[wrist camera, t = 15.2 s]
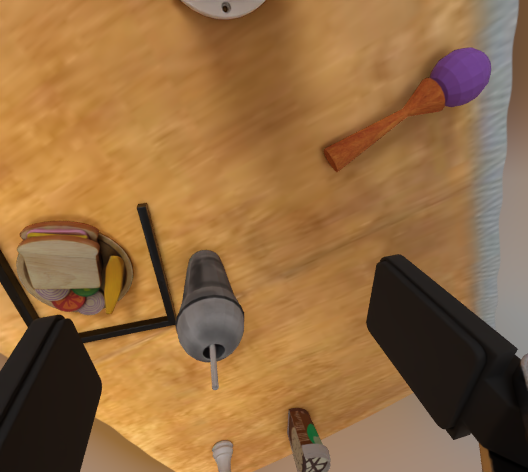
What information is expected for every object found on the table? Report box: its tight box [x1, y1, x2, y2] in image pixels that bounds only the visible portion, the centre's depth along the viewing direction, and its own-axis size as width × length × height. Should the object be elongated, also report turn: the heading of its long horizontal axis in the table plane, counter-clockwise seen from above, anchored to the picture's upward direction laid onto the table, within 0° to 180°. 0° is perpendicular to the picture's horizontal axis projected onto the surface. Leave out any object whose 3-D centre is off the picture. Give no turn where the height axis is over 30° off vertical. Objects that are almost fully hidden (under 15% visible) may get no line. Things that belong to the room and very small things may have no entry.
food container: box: [287, 408, 330, 472], centre depth 61 cm, size 12×6×10 cm, turn 1°
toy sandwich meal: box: [17, 221, 133, 315], centre depth 34 cm, size 12×14×5 cm
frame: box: [0, 203, 177, 343], centre depth 37 cm, size 19×18×1 cm
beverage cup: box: [175, 250, 244, 390], centre depth 32 cm, size 7×7×20 cm
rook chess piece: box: [212, 440, 233, 472], centre depth 59 cm, size 4×4×8 cm
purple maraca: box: [323, 48, 491, 172], centre depth 35 cm, size 6×6×20 cm
